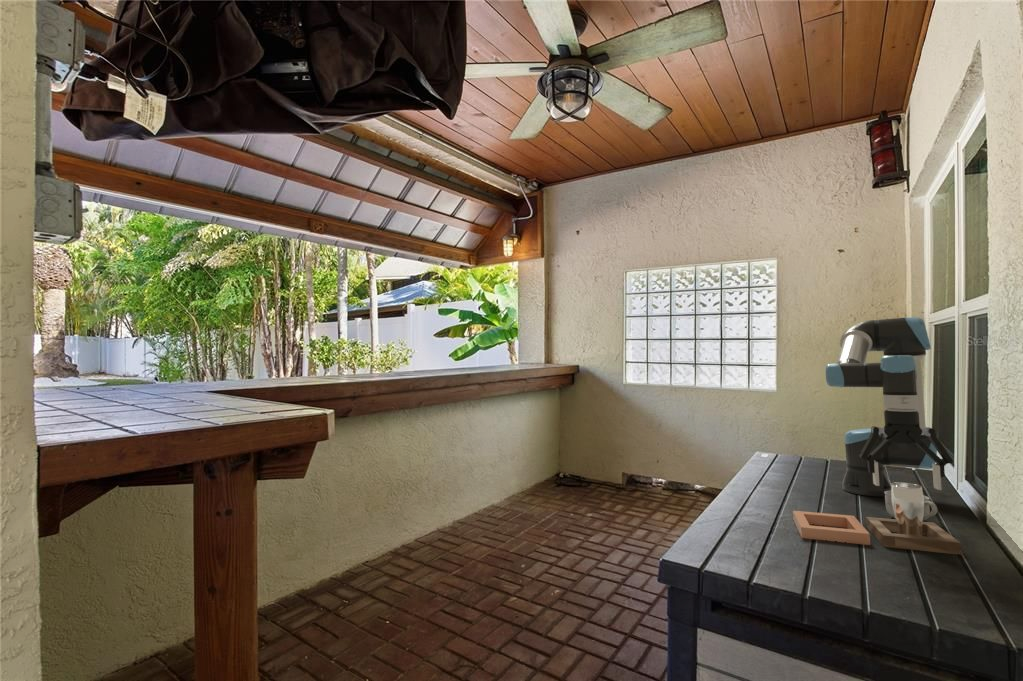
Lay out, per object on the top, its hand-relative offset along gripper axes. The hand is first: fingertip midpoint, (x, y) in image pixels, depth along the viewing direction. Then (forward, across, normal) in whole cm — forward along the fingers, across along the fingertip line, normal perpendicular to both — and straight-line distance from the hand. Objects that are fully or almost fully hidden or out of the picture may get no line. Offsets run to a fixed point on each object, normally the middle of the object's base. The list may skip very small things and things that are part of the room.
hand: (906, 486), depth 130 cm
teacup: (+14, +6, +18) cm, 24 cm away
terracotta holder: (+15, -19, 0) cm, 24 cm away
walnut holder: (+14, 0, 0) cm, 15 cm away
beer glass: (+15, 0, 0) cm, 15 cm away
